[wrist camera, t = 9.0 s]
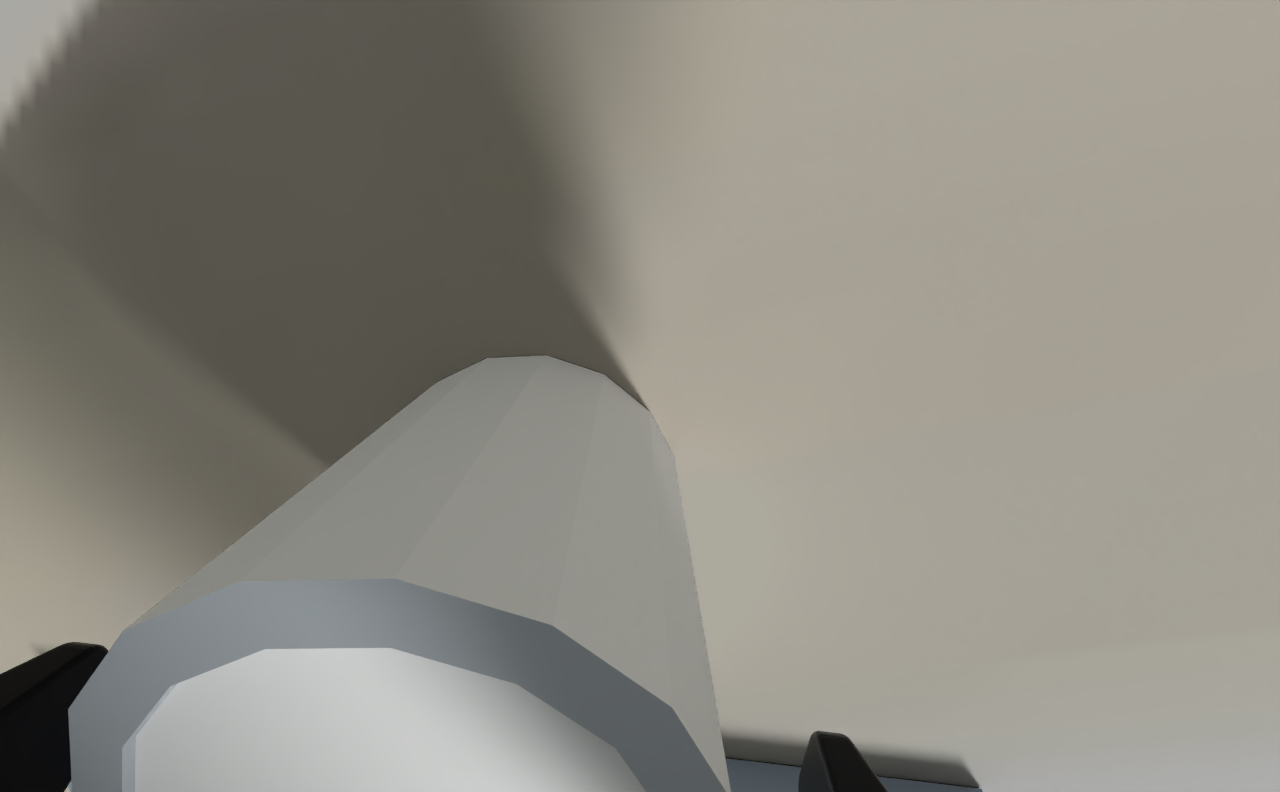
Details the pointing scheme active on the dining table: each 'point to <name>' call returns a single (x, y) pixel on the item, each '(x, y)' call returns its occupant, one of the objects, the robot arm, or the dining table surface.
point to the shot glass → (435, 617)
